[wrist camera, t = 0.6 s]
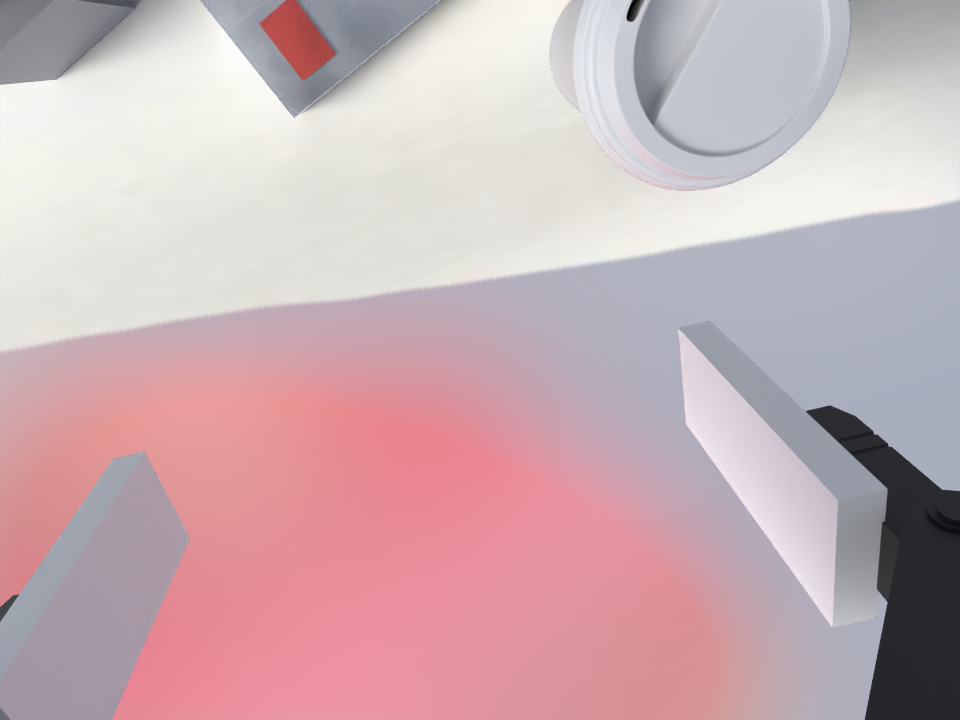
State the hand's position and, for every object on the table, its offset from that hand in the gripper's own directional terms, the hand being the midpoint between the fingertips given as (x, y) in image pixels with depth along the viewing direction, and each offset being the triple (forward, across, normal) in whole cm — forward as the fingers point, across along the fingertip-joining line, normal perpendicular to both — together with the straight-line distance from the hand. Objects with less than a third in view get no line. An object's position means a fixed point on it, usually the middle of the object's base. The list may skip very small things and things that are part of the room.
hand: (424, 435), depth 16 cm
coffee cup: (+24, +12, +6) cm, 28 cm away
